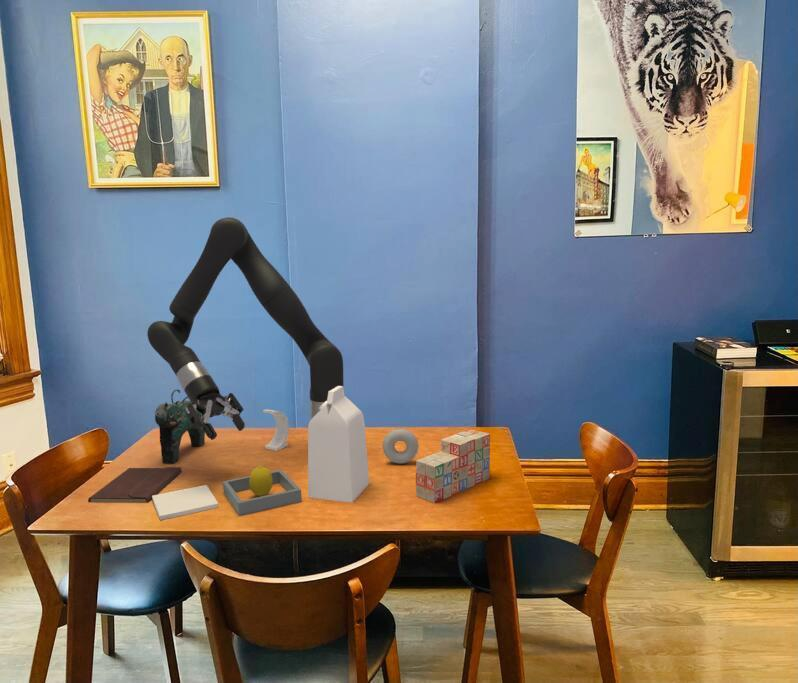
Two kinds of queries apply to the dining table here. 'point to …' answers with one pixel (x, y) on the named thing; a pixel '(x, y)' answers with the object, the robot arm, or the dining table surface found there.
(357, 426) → the milk
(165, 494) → the board
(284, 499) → the grey square frame
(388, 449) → the donut
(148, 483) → the notebook
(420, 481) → the stack of blocks
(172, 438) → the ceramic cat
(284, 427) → the headphone stand
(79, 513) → the dining table surface
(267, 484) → the lemon
